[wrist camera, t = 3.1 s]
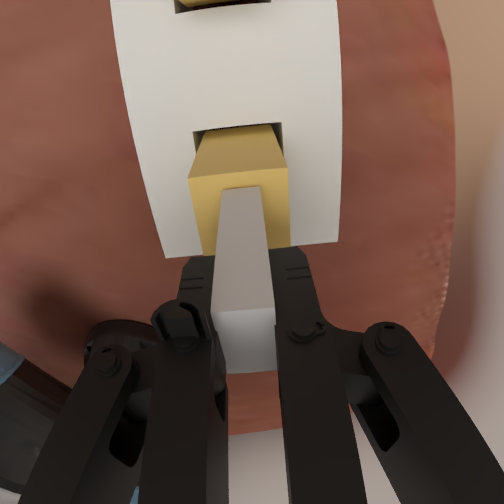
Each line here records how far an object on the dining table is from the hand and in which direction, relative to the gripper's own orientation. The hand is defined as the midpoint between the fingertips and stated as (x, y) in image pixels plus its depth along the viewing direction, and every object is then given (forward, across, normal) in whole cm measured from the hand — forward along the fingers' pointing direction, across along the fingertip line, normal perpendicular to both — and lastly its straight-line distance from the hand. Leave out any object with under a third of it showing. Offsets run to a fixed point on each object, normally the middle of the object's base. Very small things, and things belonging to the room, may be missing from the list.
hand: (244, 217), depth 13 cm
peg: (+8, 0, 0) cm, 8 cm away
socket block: (+14, 0, -6) cm, 15 cm away
